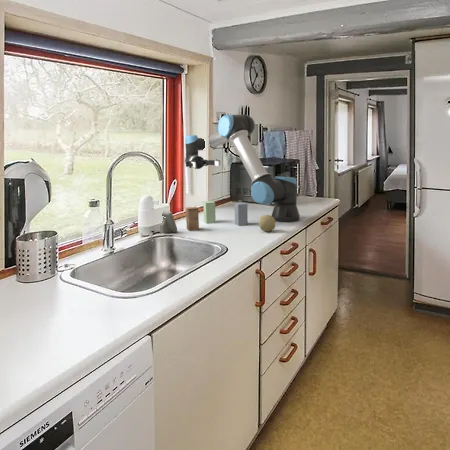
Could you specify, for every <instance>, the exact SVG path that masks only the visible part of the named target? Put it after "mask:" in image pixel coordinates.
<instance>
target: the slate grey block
mask: <svg viewBox="0 0 450 450" xmlns="http://www.w3.org/2000/svg"><path fill="white" fill-rule="evenodd" d="M248 216H249V215H248V203H246V202H234V224H235V225H236V226H238V227H240V226H241V227H242V226H249V225H248Z"/></svg>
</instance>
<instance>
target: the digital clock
mask: <svg viewBox="0 0 450 450" xmlns="http://www.w3.org/2000/svg"><path fill="white" fill-rule="evenodd" d="M162 211H163V213H162V216H164V217H166V218H164V217H163V221H162V223H161V225H160V231H159V232H160V233H159V234H162V233H165V234H167V232H168V233H170V232H171V233H172V232H173V233H175V232H178V226H177V224H176V221H175V217H174V214H173V213H172V211H166V210H165V211H164V210H162Z"/></svg>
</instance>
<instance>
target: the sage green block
mask: <svg viewBox="0 0 450 450" xmlns="http://www.w3.org/2000/svg"><path fill="white" fill-rule="evenodd" d="M202 203H203V205H202V207H203V222H204V223H205V224H215V223H216V219H217V218H216V202H215V201H213V200H207V201H202Z"/></svg>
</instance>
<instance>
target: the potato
mask: <svg viewBox="0 0 450 450" xmlns="http://www.w3.org/2000/svg"><path fill="white" fill-rule="evenodd" d="M258 225H259V228H260V230H261V231H263V232H268V231H269V232H271V231H273V230H275V228H276V221H275V219H274V218H273V217H272V215H270V214H264V215H261V216H260V218H259V219H258Z"/></svg>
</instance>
